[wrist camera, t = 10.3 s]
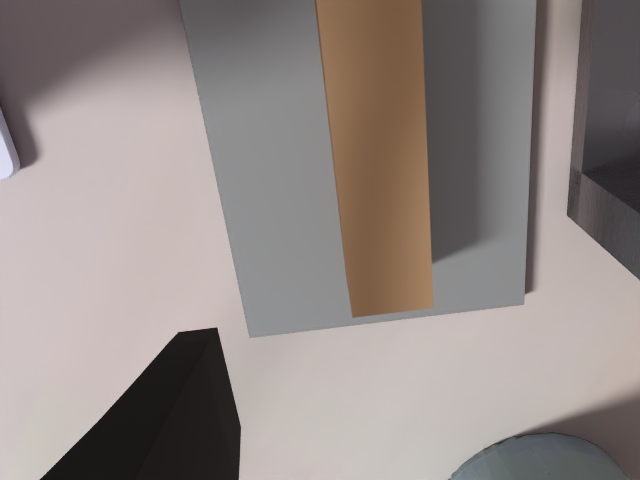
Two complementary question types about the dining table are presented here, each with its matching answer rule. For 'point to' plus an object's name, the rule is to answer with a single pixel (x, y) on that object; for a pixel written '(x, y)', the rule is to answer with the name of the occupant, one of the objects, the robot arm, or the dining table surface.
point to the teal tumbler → (541, 460)
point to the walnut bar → (379, 149)
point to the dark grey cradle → (608, 130)
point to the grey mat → (317, 164)
